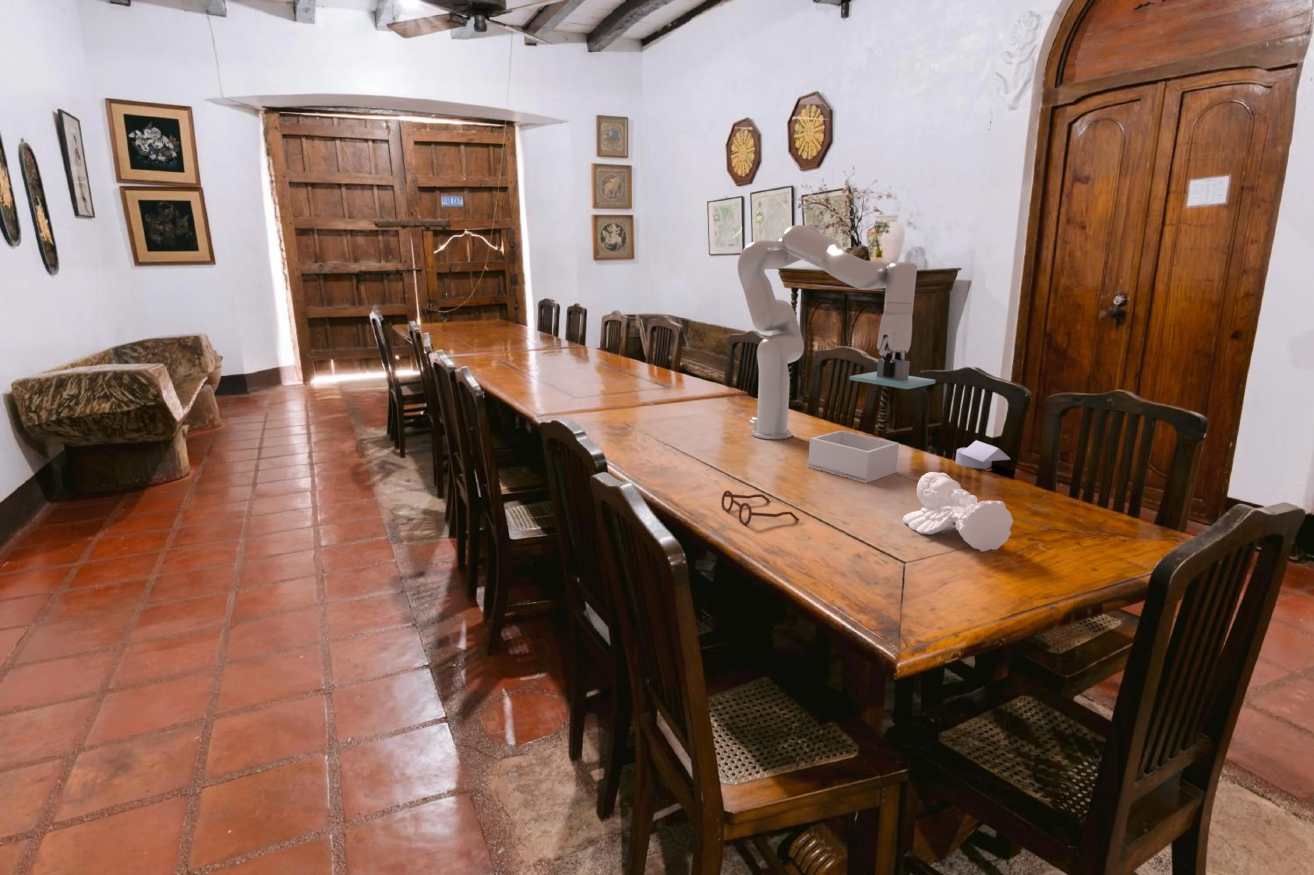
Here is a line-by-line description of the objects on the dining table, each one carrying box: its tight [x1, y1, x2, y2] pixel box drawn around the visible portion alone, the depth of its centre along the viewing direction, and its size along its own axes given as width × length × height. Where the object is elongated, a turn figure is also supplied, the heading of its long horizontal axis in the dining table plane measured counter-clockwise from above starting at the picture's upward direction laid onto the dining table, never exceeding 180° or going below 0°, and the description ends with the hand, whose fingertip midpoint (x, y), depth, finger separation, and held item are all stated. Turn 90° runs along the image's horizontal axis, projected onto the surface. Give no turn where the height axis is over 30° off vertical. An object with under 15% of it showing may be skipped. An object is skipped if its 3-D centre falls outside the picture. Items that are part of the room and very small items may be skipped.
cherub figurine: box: [902, 471, 1014, 552], centre depth 145 cm, size 13×12×20 cm
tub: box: [807, 430, 900, 484], centre depth 188 cm, size 18×14×8 cm
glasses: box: [721, 490, 799, 526], centre depth 157 cm, size 13×13×5 cm
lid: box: [849, 357, 936, 390], centre depth 196 cm, size 18×14×6 cm
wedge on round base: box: [955, 439, 1011, 469], centre depth 193 cm, size 9×7×13 cm
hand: (892, 375), depth 197 cm, fingers closed on lid, 3 cm apart
